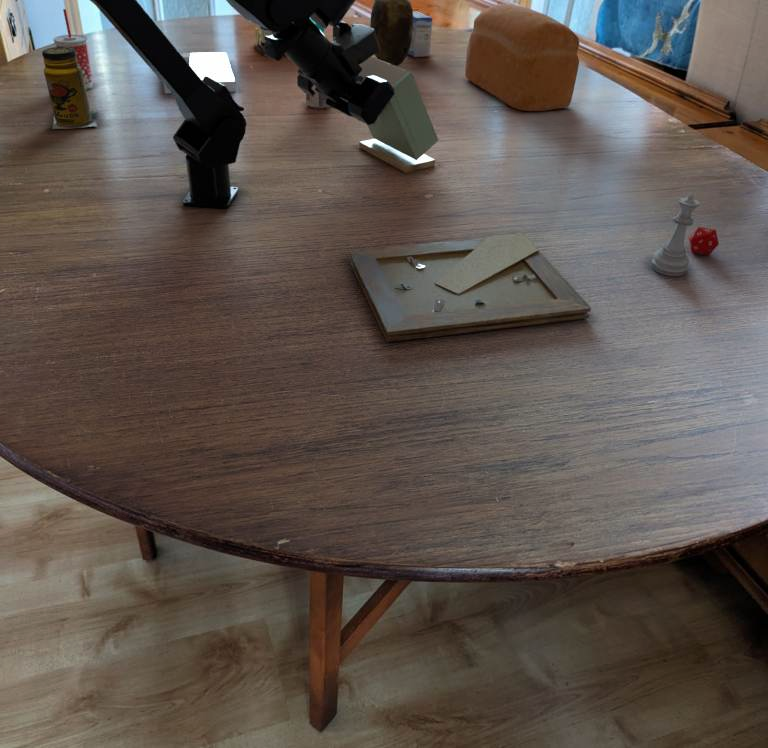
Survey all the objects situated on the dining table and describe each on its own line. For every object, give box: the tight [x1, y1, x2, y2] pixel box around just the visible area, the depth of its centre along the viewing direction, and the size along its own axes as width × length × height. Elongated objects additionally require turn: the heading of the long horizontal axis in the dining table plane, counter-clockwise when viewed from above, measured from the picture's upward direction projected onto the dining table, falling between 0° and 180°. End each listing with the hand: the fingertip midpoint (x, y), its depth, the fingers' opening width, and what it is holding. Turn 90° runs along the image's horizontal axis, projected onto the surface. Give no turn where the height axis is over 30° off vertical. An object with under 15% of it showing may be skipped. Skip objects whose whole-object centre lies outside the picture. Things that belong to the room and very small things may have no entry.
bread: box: [464, 3, 580, 112], centre depth 148 cm, size 14×26×16 cm, turn 20°
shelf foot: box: [358, 138, 436, 174], centre depth 120 cm, size 6×13×1 cm, turn 36°
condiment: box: [41, 46, 98, 130], centre depth 124 cm, size 7×8×12 cm
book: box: [163, 51, 237, 95], centre depth 152 cm, size 23×14×2 cm, turn 14°
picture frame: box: [348, 232, 592, 343], centre depth 86 cm, size 19×2×24 cm
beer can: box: [305, 85, 330, 110], centre depth 137 cm, size 5×5×12 cm
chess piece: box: [650, 193, 700, 277], centre depth 90 cm, size 4×4×10 cm
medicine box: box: [407, 10, 433, 58], centre depth 174 cm, size 8×4×9 cm, turn 25°
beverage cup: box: [53, 8, 94, 90], centre depth 140 cm, size 6×6×14 cm
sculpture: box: [369, 0, 414, 67], centre depth 159 cm, size 13×8×20 cm, turn 15°
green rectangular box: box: [359, 56, 440, 160], centre depth 115 cm, size 5×12×13 cm, turn 36°
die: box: [688, 226, 720, 256], centre depth 96 cm, size 4×4×4 cm
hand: (374, 120), depth 114 cm, fingers closed, pressing on green rectangular box
